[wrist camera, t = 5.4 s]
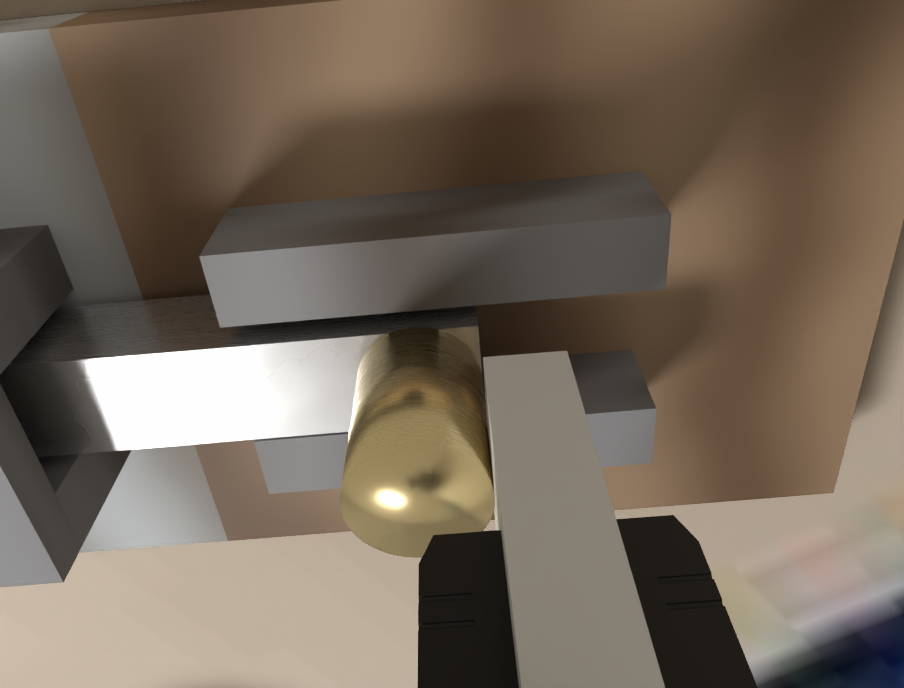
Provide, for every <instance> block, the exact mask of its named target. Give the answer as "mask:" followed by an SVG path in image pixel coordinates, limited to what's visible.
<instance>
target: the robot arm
mask: <svg viewBox="0 0 904 688" xmlns="http://www.w3.org/2000/svg"><path fill="white" fill-rule="evenodd" d="M483 366H484V383H485V399H486V416H487V431H488V440H489V449H490V459H491V468H492V477H493V487H494V496H495V506H494V515H495V525H496V530H495V531H481V532H468V533H455V534H441V535H433V537H432V539H431V541H430V543H429V545H428V547H427V549H426V551H425V553H424V555H423V557H422V559H421V561H420V563H419V610H418V625H419V630H418V688H757V685H756V683H755V680H754V678H753V675H752V673H751V670H750V668H749V665H748V663H747V660H746V658H745V655H744V653H743V650H742V648H741V645H740V643H739V640H738V638H737V635H736V633H735V630H734V628H733V626H732V623H731V621H730V618H729V616H728V613H727V611H726V608H725V606H723V604H722V598H721V596H720V593H719V591H718V588H717V586H716V583H715V581H714V579H712V576H711V571H710V568H709V566H708V563H707V561H706V559H705V556H704V554H703V551H702V549H701V546H700V544H699V541H698V540H697V539H696V538H695V537H694V536H693V535H692V534H691V533H690V532H689V531H688V530H687V529H686V528H685V527H684V526H683V525H682V524H681V523H680V522H679V521H678V520H677V518H676V517H675V516H674V515H669V516H656V517H642V518H629V519H616V517H615V514H614V510H613V507H612V503H611V500H610V496H609V493H608V490H607V486H606V483H605V479H604V476H603V472H602V469H601V466H600V462H599V459H598V455H597V452H596V448H595V445H594V441H593V438H592V435H591V431H590V428H589V424H588V421H587V417H586V414H585V411H584V407H583V404H582V400H581V397H580V393H579V390H578V387H577V383H576V380H575V376H574V373H573V369H572V366H571V362H570V359H569V356H568V352H567V351H556V352H544V353H531V354H518V355H505V356H492V357H483Z"/></svg>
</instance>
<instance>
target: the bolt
mask: <svg viewBox="0 0 904 688" xmlns="http://www.w3.org/2000/svg"><path fill="white" fill-rule="evenodd" d="M0 384H1V386H2V388H3V390H4V392H5V394H6V396H7V398H8V400H9V402H10V404H11V406H12V408H13V410H14V412H15V414H16V416H17V418H18V420H19V422H20V424H21V426H22V428H23V430H24V432H25V434H26V436H27V438H28V440H29V442H30V444H31V446H32V448H33V450H34V452H35V454H36V456H37V457H48V456H60V455H72V454H84V453H97V452H109V451H121V450H133V449H145V448H157V447H169V446H181V445H194V444H206V443H218V442H230V441H242V440H254V439H266V438H278V437H290V436H303V435H315V434H327V433H339V432H349V436H348V443H347V450H346V457H345V464H344V471H343V478H342V485H341V492H340V509H341V513H342V516H343V518H344V520H345V522H346V524H347V526H348V527H349V528H350V530H351V531H352V532H353V533H354V534H355V535H356V536H357V537H358V538H359V539H361V540H362V541H363V542H365V543H366V544H368V545H370V546H371V547H373V548H376V549H378V550H380V551H383V552H386V553H389V554H393V555H397V556H403V557H423V555H424V553H425V551H426V549H427V547H428V545H429V543H430V541H431V539H432V537H433V535H441V534H455V533H468V532H481V531H483V530H484V529H485V528H486V526H487V525H488V523H489V521H490V520H491V517H492V514H493V511H494V506H495V496H494V487H493V477H492V468H491V459H490V449H489V440H488V431H487V418H486V409H485V399H484V389H483V380H482V368H481V355H480V342H479V329H478V319H477V309H476V306H465V307H454V308H442V309H430V310H419V311H407V312H396V313H384V314H373V315H361V316H349V317H338V318H326V319H315V320H303V321H291V322H280V323H268V324H257V325H245V326H233V327H222V328H220V325H219V322H218V319H217V315H216V312H215V309H214V305H213V302H212V298H211V295H210V294H209V295H198V296H186V297H175V298H164V299H152V300H141V301H129V302H118V303H106V304H95V305H83V306H72V307H61V308H57V309H56V310H55V311H54V312H53V314H52V315H51V316H50V317H49V318H48V319H47V321H46V322H45V323H44V324H43V325H42V326H41V328H40V329H39V330H38V331H37V332H36V333H35V335H34V336H33V337H32V338H31V339H30V341H29V342H28V343H27V344H26V345H25V346H24V348H23V349H22V350H21V351H20V352H19V353H18V355H17V356H16V357H15V358H14V359H13V360H12V362H11V363H10V364H9V365H8V366H7V367H6V369H5V370H4V371H3V372H2V373H1V374H0Z"/></svg>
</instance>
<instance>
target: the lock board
mask: <svg viewBox="0 0 904 688" xmlns="http://www.w3.org/2000/svg"><path fill="white" fill-rule="evenodd" d="M903 221H904V0H207V1H197V2H186V3H176V4H166V5H155V6H145V7H135V8H124V9H114V10H104V11H94V12H83V13H73V14H63V15H52V16H42V17H32V18H22V19H11V20H1V21H0V374H1V373H2V372H3V371H4V370H5V369H6V367H7V366H8V365H9V364H10V363H11V362H12V360H13V359H14V358H15V357H16V356H17V355H18V353H19V352H20V351H21V350H22V349H23V348H24V346H25V345H26V344H27V343H28V342H29V341H30V339H31V338H32V337H33V336H34V335H35V333H36V332H37V331H38V330H39V329H40V328H41V326H42V325H43V324H44V323H45V322H46V321H47V319H48V318H49V317H50V316H51V315H52V314H53V312H54V311H55V310H56V309H57V308H61V307H72V306H83V305H95V304H106V303H118V302H129V301H141V300H152V299H164V298H175V297H186V296H198V295H209V294H210V295H211V298H212V302H213V305H214V309H215V312H216V315H217V319H218V322H219V325H220V328H222V327H233V326H245V325H257V324H268V323H280V322H291V321H303V320H315V319H326V318H338V317H349V316H361V315H373V314H384V313H396V312H407V311H419V310H430V309H442V308H454V307H465V306H476V309H477V319H478V329H479V342H480V355H481V368H482V380H483V389H484V399H485V383H484V366H483V357H492V356H505V355H518V354H531V353H544V352H556V351H567V352H568V356H569V359H570V362H571V366H572V369H573V373H574V376H575V380H576V383H577V387H578V390H579V393H580V397H581V400H582V404H583V407H584V411H585V414H586V417H587V421H588V424H589V428H590V431H591V435H592V438H593V441H594V445H595V448H596V452H597V455H598V459H599V462H600V466H601V469H602V472H603V476H604V479H605V483H606V486H607V490H608V493H609V496H610V500H611V503H612V507H613V510H623V509H636V508H648V507H661V506H674V505H686V504H699V503H711V502H724V501H737V500H749V499H762V498H775V497H787V496H800V495H812V494H825V493H833V492H834V488H835V484H836V481H837V477H838V473H839V469H840V465H841V461H842V457H843V453H844V450H845V446H846V442H847V438H848V434H849V430H850V426H851V422H852V419H853V415H854V411H855V407H856V403H857V399H858V395H859V391H860V388H861V384H862V380H863V376H864V372H865V368H866V364H867V360H868V357H869V353H870V349H871V345H872V341H873V337H874V333H875V329H876V326H877V322H878V318H879V314H880V310H881V306H882V302H883V298H884V295H885V291H886V287H887V283H888V279H889V275H890V271H891V267H892V264H893V260H894V256H895V252H896V248H897V244H898V240H899V236H900V233H901V229H902V225H903ZM485 409H486V399H485ZM486 418H487V416H486ZM348 436H349V432H339V433H327V434H315V435H303V436H290V437H278V438H266V439H254V440H242V441H230V442H218V443H206V444H194V445H181V446H169V447H157V448H145V449H133V450H121V451H109V452H97V453H84V454H72V455H60V456H48V457H37V456H36V454H35V452H34V450H33V448H32V446H31V444H30V442H29V440H28V438H27V436H26V434H25V432H24V430H23V428H22V426H21V424H20V422H19V420H18V418H17V416H16V414H15V412H14V410H13V408H12V406H11V404H10V402H9V400H8V398H7V396H6V394H5V392H4V390H3V388H2V386H1V384H0V587H10V586H22V585H35V584H48V583H61V582H64V580H65V578H66V576H67V574H68V572H69V571H70V569H71V567H72V565H73V563H74V561H75V559H76V557H77V555H78V553H81V552H93V551H106V550H119V549H131V548H144V547H156V546H169V545H182V544H194V543H207V542H219V541H232V540H245V539H257V538H270V537H283V536H295V535H308V534H320V533H333V532H346V531H351V530H350V528H349V527H348V526H347V524H346V522H345V520H344V518H343V516H342V513H341V509H340V492H341V485H342V478H343V471H344V464H345V457H346V450H347V443H348ZM491 520H495V515H494V511H493V514H492V517H491Z"/></svg>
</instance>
